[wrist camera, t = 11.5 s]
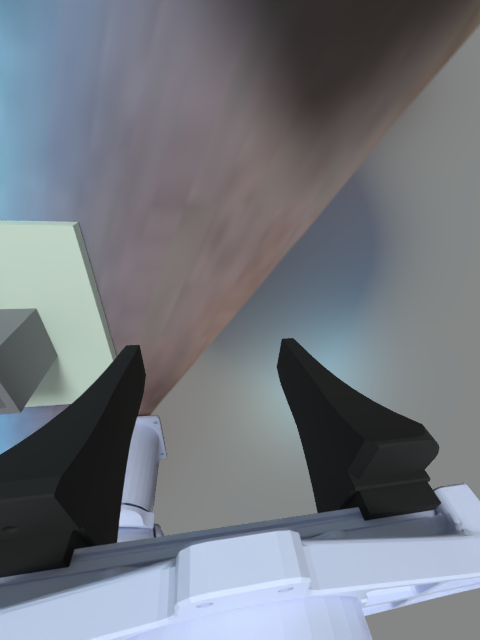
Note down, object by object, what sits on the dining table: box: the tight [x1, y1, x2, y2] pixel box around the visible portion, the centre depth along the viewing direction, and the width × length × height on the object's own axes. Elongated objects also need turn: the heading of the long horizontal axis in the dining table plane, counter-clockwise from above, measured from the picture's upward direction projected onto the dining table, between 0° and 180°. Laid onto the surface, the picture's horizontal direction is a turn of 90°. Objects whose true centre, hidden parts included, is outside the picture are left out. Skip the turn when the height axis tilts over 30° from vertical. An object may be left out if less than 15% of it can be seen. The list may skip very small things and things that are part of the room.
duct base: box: [0, 220, 117, 407], centre depth 21 cm, size 18×14×4 cm
